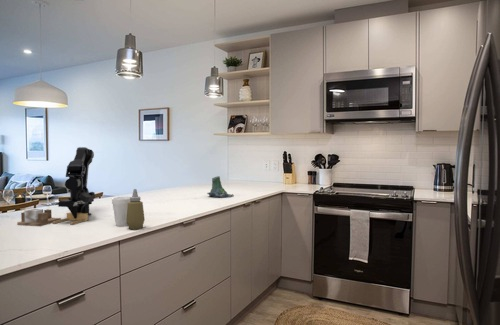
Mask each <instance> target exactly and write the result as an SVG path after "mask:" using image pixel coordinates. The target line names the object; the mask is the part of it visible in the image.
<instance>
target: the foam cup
mask: <svg viewBox="0 0 500 325" xmlns="http://www.w3.org/2000/svg"><path fill="white" fill-rule="evenodd" d="M130 197H131V196H115V197H112V198H111V204H112V208H113V209H112V210H113V215H114V216H113V217H114V222H115V226H116V227H125V226H126V227H128V225H127V222H126V219H127V207H128V203H129V202H130Z"/></svg>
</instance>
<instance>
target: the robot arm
mask: <svg viewBox="0 0 500 325" xmlns="http://www.w3.org/2000/svg"><path fill="white" fill-rule="evenodd" d="M94 157H95V153H94V151H93V150H92V149H90V148H88V147H86V146H85V147H83V146H79V147H76V151H75V156H74V159H73V160H70V162H69V163H68V165H67V166H66V171H65V178H67V179H66V180H65V183H64V186H65V188H66V189H67V192H68V193H69V194H70V195H69V196H70V197H68V199H62V200H58V204H57V207H58V208H59V207H60V208H61V207H62V208H67V209H68V211H69V212H71V213H72V215H73V217H74V218H77V213H88V216H91V215H92V213H90V205H92V204H93V202H94V201H95V198H96V197H95V196H96V195H95V192H94V191H89V189H88V177H89V168H90V167H89V166H90V165H91V163H93V158H94Z"/></svg>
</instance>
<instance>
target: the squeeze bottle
mask: <svg viewBox="0 0 500 325" xmlns="http://www.w3.org/2000/svg"><path fill="white" fill-rule="evenodd" d="M129 197H130V202H129V203H128V207H127V219H126V222H127V227H128V229H129V230H139V229H142V228H143V227H144V223H145V213H144V212H145V211H144V210H145V209H144V204H143V203H144V202H143V201H142V200H141V196H139V193H138V190H137V189H136V188H134V189H133V192H132V196H129Z"/></svg>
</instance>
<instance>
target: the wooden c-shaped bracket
mask: <svg viewBox="0 0 500 325" xmlns="http://www.w3.org/2000/svg"><path fill="white" fill-rule="evenodd" d="M66 221H71V222H69V225H71V226H72V225H76V224H80V223H83V222H85V221H89V215H88V213H77V218H74V217H73V215H72V213H71V212H70V211H69V212H66V217H64V218H61V220H57V221H53V223H52V224H54V225H55V224H56V225H57V224H59V223H62V222H66Z"/></svg>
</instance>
